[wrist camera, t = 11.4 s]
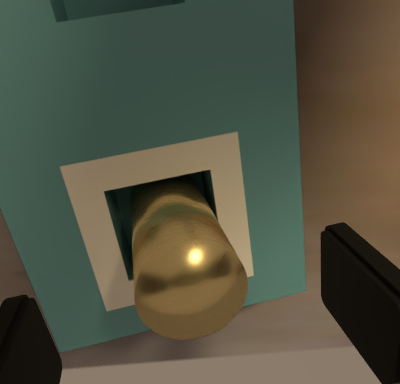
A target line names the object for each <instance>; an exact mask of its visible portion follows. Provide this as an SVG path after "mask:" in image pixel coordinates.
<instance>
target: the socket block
mask: <svg viewBox="0 0 400 384" xmlns="http://www.w3.org/2000/svg"><path fill="white" fill-rule="evenodd" d="M185 174H190V175H191V177H192V178H193V179H194V180H195V182H196V184H197V186H198V187H199V189H200V191H201V193H202V194H203V196H204V198H205V200H206V201H207V203H208V205H209V207H210V208H211V210H212V212H213V214H214V215H215V217H216V219H217V221H218V222H219V224H220V226H221V228H222V229H223V231H224V233H225V235H226V236H227V238H228V240H229V242H230V243H231V245H232V247H233V249H234V250H235V252H236V254H237V256H238V257H239V259H240V261H241V263H242V264H243V266H244V268H245V271H246V274H247V279H248V290H247V295H246V299H245V301H244V304H243V306H242V307H244V306H248V305H252V304H256V303H260V302H264V301H268V300H272V299H276V298H280V297H284V296H288V295H292V294H296V293H300V292H304V291H306V274H305V252H304V229H303V207H302V184H301V162H300V139H299V117H298V94H297V72H296V49H295V27H294V4H293V0H0V209H1V212H2V214H3V217H4V219H5V221H6V224H7V226H8V229H9V231H10V233H11V236H12V238H13V241H14V243H15V246H16V248H17V250H18V253H19V255H20V258H21V260H22V262H23V265H24V267H25V270H26V272H27V275H28V277H29V279H30V282H31V284H32V287H33V289H34V291H35V294H36V296H37V299H38V301H39V304H40V306H41V308H42V311H43V313H44V316H45V318H46V320H47V323H48V325H49V328H50V330H51V333H52V335H53V337H54V340H55V342H56V345H57V347H58V349H59V352H60V353H63V352H66V351H70V350H74V349H78V348H82V347H86V346H90V345H94V344H98V343H102V342H106V341H110V340H114V339H118V338H122V337H126V336H130V335H134V334H138V333H142V332H146V331H150V330H151V329H149V328H148V327H147V326H146V325H145V324H144V323H143V321H142V320H141V319H140V317H139V315H138V313H137V310H136V307H135V301H134V278H133V253H132V228H131V203H130V196H131V191H132V188H133V186H134V185H137V184H142V183H147V182H152V181H156V180H161V179H166V178H171V177H176V176H181V175H185Z"/></svg>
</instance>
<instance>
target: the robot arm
mask: <svg viewBox="0 0 400 384" xmlns="http://www.w3.org/2000/svg"><path fill="white" fill-rule="evenodd" d="M321 297H322V300H323V303H324V305H325V306H326V308H327V309H328V311H329V312H330V313H331V315H332V316H333V317H334V319H335V320H336V322H337V323H338V324H339V326H340V327H341V328H342V330H343V331H344V333H345V334H346V335H347V337H348V338H349V339H350V341H351V342H352V344H353V345H354V346H355V348H356V349H357V350H358V352H359V353H360V355H361V356H362V357H363V359H364V360H365V361H366V363H367V364H368V366H369V367H370V368H371V370H372V371H373V372H374V374H375V375H376V376H377V378H378V379H379V381H380V382H381V383H382V384H400V269H398V268H397V267H396V266H395V265H394V264H393V263H391V262H390V261H389V260H388V259H387V258H386V257H384V256H383V255H382V254H381V253H380V252H379V251H377V250H376V249H375V248H374V247H373V246H372V245H370V244H369V243H368V242H367V241H366V240H365V239H363V238H362V237H361V236H360V235H359V234H357V233H356V232H355V231H354V230H353V229H352V228H350V227H349V226H348V225H347V224H346V223H343V222H342V223H338V224H333V225H329V226H326V228H325V231H322V232H321ZM61 373H62V361H61V358H60V356H59V353H58V351H57V349H56V347H55V344H54V342H53V340H52V337H51V335H50V333H49V330H48V328H47V326H46V324H45V321H44V319H43V317H42V314H41V312H40V310H39V308H38V305H37V303H36V301H35V299H34V298H29V297H28V296H27V295H20V296H16V297H11V298H7V299H5V300H4V301H3V303H2V305H1V307H0V384H59V383H60V378H61Z"/></svg>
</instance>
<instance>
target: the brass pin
mask: <svg viewBox="0 0 400 384" xmlns="http://www.w3.org/2000/svg"><path fill="white" fill-rule="evenodd" d="M130 203H131V228H132V253H133V278H134V301H135V307H136V310H137V313H138V315H139V317H140V319H141V320H142V321H143V323H144V324H145V325H146V326H147V327H148V328H149V329H151V330H152V331H154V332H155V333H157V334H159V335H162V336H164V337H168V338H172V339H180V340H187V339H195V338H200V337H204V336H207V335H209V334H212V333H214V332H216V331H218V330H219V329H221V328H222V327H224V326H225V325H227V324H228V323H229V322H230V321H231V320H232V319H233V318H234V317H235V316H236V315H237V313H238V312H239V311H240V309H241V307H242V306H243V304H244V301H245V299H246V295H247V290H248V279H247V274H246V271H245V268H244V266H243V264H242V263H241V261H240V259H239V257H238V256H237V254H236V252H235V250H234V249H233V247H232V245H231V243H230V242H229V240H228V238H227V236H226V235H225V233H224V231H223V229H222V228H221V226H220V224H219V222H218V221H217V219H216V217H215V215H214V214H213V212H212V210H211V208H210V207H209V205H208V203H207V201H206V200H205V198H204V196H203V194H202V193H201V191H200V189H199V187H198V186H197V184H196V182H195V180H194V179H193V178H192V177H191V175H190V174H185V175H181V176H176V177H171V178H166V179H161V180H156V181H152V182H147V183H142V184H137V185H134V186H133V188H132V191H131V196H130Z"/></svg>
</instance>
